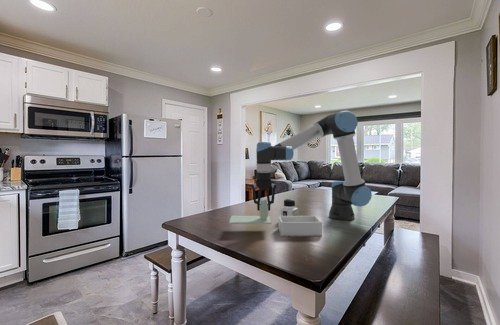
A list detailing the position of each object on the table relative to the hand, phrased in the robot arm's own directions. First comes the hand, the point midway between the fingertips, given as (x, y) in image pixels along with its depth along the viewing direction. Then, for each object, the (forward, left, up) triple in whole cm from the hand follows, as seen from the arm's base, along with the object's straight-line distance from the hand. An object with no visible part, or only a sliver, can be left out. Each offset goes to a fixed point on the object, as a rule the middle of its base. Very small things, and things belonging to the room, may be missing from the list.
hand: (263, 216), depth 127 cm
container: (-16, -19, -8) cm, 26 cm away
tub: (-18, +2, -8) cm, 20 cm away
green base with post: (+7, 0, -2) cm, 7 cm away
